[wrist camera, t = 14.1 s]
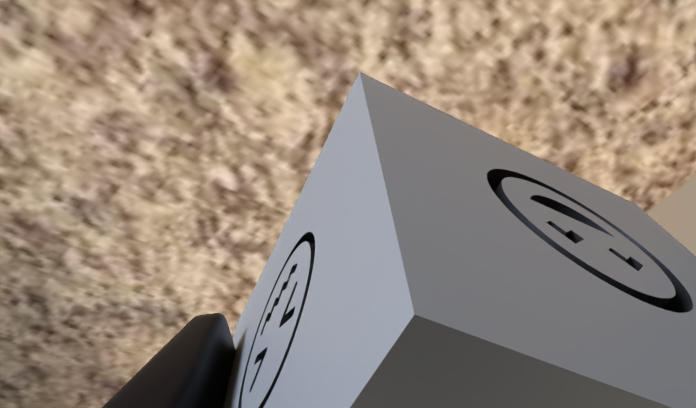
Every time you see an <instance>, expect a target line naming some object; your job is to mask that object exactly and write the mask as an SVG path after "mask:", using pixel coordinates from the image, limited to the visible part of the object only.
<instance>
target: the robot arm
mask: <svg viewBox="0 0 696 408" xmlns="http://www.w3.org/2000/svg"><path fill="white" fill-rule="evenodd" d="M235 352H236V349H235V346H234V343H233V340H232V337H231V333H230V330H229V327H228V324H227V321H226V318H225V317H224V315H222V314H220V313H214V314H206V315H199V316H196V317H194V318H193V319H192V320H191V321H190V322H189V323H188V324H187V325H186V326H185V327H184V328H183V329H182V330H181V331H180V332H179V333H178V334H177V335H176V336H174V337H173V338H172V339H171V340H170V341H169V342H168V343H167V344H166V345H165V346H164V347H163V348H162V349H161V350H160V351H159V352H158V353H157V354H156V355H155V356H154V357H153V358H152V359H151V360H150V361H149V362H148V363H147V364H146V365H145V366H144V367H143V368H142V369H141V370H140V371H139V372H138V373H137V374H136V375H135V376H134V377H133V378H132V379H131V380H130V381H129V382H127V383H126V384H125V385H124V386H123V387H122V388H121V389H120V390H119V391H118V392H117V393H116V394H115V395H114V396H113V397H112V398H111V399H110V400H109V401H108V402H107V403H106V404H105V405H104V406H103V407H102V408H223V406H224V401H225V397H226V392H227V388H228V383H229V379H230V374H231V370H232V366H233V361H234V357H235Z"/></svg>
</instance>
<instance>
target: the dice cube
mask: <svg viewBox="0 0 696 408" xmlns="http://www.w3.org/2000/svg"><path fill="white" fill-rule="evenodd" d="M233 343H234V346H235V349H236V352H235V357H234V361H233V366H232V370H231V374H230V379H229V383H228V388H227V392H226V397H225V401H224V406H223V408H696V256H695V255H693V254H692V253H691V252H690V251H689V250H688V249H687V248H685V247H684V246H683V245H682V244H681V243H680V242H679V241H677V240H676V239H675V238H674V237H673V236H672V235H671V234H669V233H668V232H667V231H666V230H665V229H664V228H663V227H661V226H660V225H659V224H658V223H657V222H656V221H655V220H653V219H652V218H651V217H650V216H649V215H648V214H646V213H645V212H644V211H643V210H642V209H641V208H640V207H638V206H637V205H636V204H634V203H632V202H630V201H628V200H626V199H624V198H622V197H620V196H617V195H615V194H613V193H611V192H609V191H607V190H605V189H603V188H601V187H599V186H597V185H594V184H592V183H590V182H588V181H586V180H584V179H582V178H580V177H578V176H576V175H574V174H572V173H569V172H567V171H565V170H563V169H561V168H559V167H557V166H555V165H553V164H551V163H549V162H547V161H544V160H542V159H540V158H538V157H536V156H534V155H532V154H530V153H528V152H526V151H524V150H521V149H519V148H517V147H515V146H513V145H511V144H509V143H507V142H505V141H503V140H501V139H499V138H496V137H494V136H492V135H490V134H488V133H486V132H484V131H482V130H480V129H478V128H476V127H473V126H471V125H469V124H467V123H465V122H463V121H461V120H459V119H457V118H455V117H453V116H451V115H448V114H446V113H444V112H442V111H440V110H438V109H436V108H434V107H432V106H430V105H428V104H426V103H423V102H421V101H419V100H417V99H415V98H413V97H411V96H409V95H407V94H405V93H403V92H400V91H398V90H396V89H394V88H392V87H390V86H388V85H386V84H384V83H382V82H380V81H378V80H375V79H373V78H371V77H369V76H367V75H365V74H363V73H361V72H359V74H358V76H357V78H356V80H355V82H354V85H353V87H352V89H351V91H350V93H349V95H348V97H347V99H346V101H345V103H344V105H343V107H342V109H341V111H340V113H339V115H338V117H337V119H336V122H335V124H334V126H333V128H332V130H331V132H330V134H329V136H328V138H327V140H326V142H325V144H324V146H323V148H322V150H321V152H320V154H319V156H318V159H317V161H316V163H315V165H314V167H313V169H312V171H311V173H310V175H309V177H308V179H307V181H306V183H305V185H304V187H303V189H302V191H301V193H300V196H299V198H298V200H297V202H296V204H295V206H294V208H293V210H292V212H291V214H290V216H289V218H288V220H287V222H286V224H285V226H284V228H283V230H282V233H281V235H280V237H279V239H278V241H277V243H276V245H275V247H274V249H273V251H272V253H271V255H270V257H269V259H268V261H267V263H266V265H265V267H264V270H263V272H262V274H261V276H260V278H259V280H258V282H257V284H256V286H255V288H254V290H253V292H252V294H251V296H250V298H249V300H248V302H247V304H246V307H245V309H244V311H243V313H242V315H241V317H240V319H239V321H238V323H237V326H236V330H235V334H234V338H233Z"/></svg>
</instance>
